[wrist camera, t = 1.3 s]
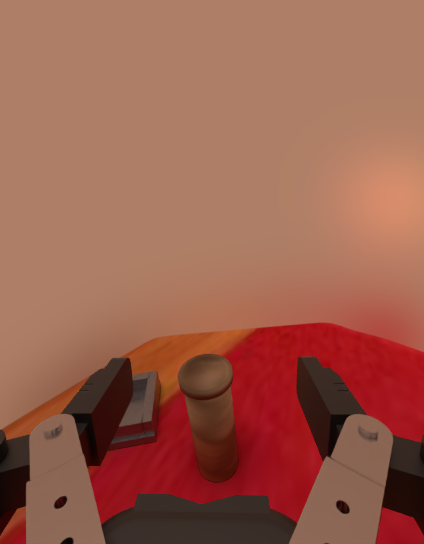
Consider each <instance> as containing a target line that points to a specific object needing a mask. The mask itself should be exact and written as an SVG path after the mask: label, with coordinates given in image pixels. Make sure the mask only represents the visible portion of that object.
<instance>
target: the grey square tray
mask: <svg viewBox="0 0 424 544" xmlns="http://www.w3.org/2000/svg"><path fill="white" fill-rule="evenodd" d="M132 378H133V396H132V400H131V402H130V404H129V406H128V408H127V410H126V412H125V415H124V417H123V419H122V421H121V423H120V425H119V427H118V429H117V431H116V434H115V436H114V438H113V440H112V442H111V444H110V446H109V448H108V450H114V449H119V448H124V447H130V446H135V445H140V444H146V443H151V442H156V434H157V423H158V412H159V400H160V389H161V384H160V380H159V377H158V373H157V371H153V372H147V373H141V374H135V375H132ZM108 450H107V451H108Z"/></svg>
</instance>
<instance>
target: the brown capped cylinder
mask: <svg viewBox="0 0 424 544" xmlns="http://www.w3.org/2000/svg"><path fill="white" fill-rule="evenodd" d="M178 380H179V385H180V389H181V391H182V392H183V393H184V394H185V399H186V404H187V410H188V415H189V420H190V426H191V431H192V436H193V442H194V447H195V452H196V457H197V463H198V468H199V471H200V473H201V474H202V476H203V477H204V478H205V479H207V480H209V481H211V482H217V483H218V482H223V481H226V480H228V479H229V478H230V477H232V476H233V474H234V473H235V471H236V469H237V467H238V451H237V442H236V432H235V423H234V413H233V404H232V395H231V384H232V381H233V373H232V367H231V364H230V363H229V361H228V360H227V359H225V358H224V357H222V356H219V355H215V354H203V355H198V356H195V357H193V358H191V359H189V360H188V361H186V362H185V363H184V364H183V365H182V367H181V368H180V370H179V373H178Z"/></svg>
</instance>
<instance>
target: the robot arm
mask: <svg viewBox="0 0 424 544" xmlns="http://www.w3.org/2000/svg"><path fill="white" fill-rule="evenodd" d="M297 395H298V399H299V402H300V405H301V407H302V410H303V412H304V415H305V417H306V420H307V422H308V425H309V427H310V430H311V432H312V435H313V437H314V440H315V442H316V445H317V447H318V450H319V452H320V455H321V457H322V460H323V464H322V467H321V469H320V471H319V474H318V476H317V478H316V481H315V483H314V486H313V488H312V490H311V493H310V495H309V497H308V500H307V502H306V504H305V507H304V509H303V512H302V514H301V516H300V519H299V521H298V523H296V522H295V521H293V520H292V519H291V518H289V517H287V516H286V515H284V514H282V513H280V512H278V511H275V510H272V509H270V506H269V500H268V496H253V495H235V496H231V497H227V498H224V499H220V500H216V501H213V502H209V503H205V504H198V503H195V502H192V501H189V500H186V499H183V498H180V497H176V496H173V495H170V494H138V496H137V499H136V503H135V506H134V507H132V508H129V509H127V510H124V511H122V512H120V513H118V514H116V515H114V516H113V517H111V518H110V519H108V520H107V521H105V522H104V523H103V524H102V525H101V523H100V519H99V514H98V510H97V506H96V502H95V498H94V494H93V490H92V486H91V482H90V478H89V474H88V470H87V468H88V466H100V465H101V463H102V461H103V459H104V457H105V455H106V452H107V450H108V448H109V446H110V444H111V442H112V440H113V438H114V436H115V434H116V431H117V429H118V427H119V425H120V423H121V421H122V419H123V417H124V415H125V412H126V410H127V408H128V406H129V404H130V402H131V400H132V396H133V378H132V370H131V362H130V359H129V358H113V359H111V360H110V362H109V363H108V365H107V366H106V367H105V369H100V370H98V371H97V372H95V373H94V374H93V375H91V376H90V377H89V379H88V380H87V381H86V382H85V385H83V386H82V388H81V389H80V390H79V392H78V393H77V394H76V395H75V396H74V398H73V399H72V400H71V402H70V403H69V404H68V405H67V407H66V408H65V409H64V410H63V412H62V413H61V414H59V415H55V416H52V417H50V418H48V419H46V420H44V421H42V422H41V423H40V424H38V425H37V426H36V427H35V428H34V429H33V431H32V432H31V434H30V435H26V436H22V437H18V438H14V439H10V440H6V436H5V433H4V431H2V430H0V535H1V534H2V532H3V530H4V529H5V527H6V526H7V524H8V522H9V521H10V519H11V518H12V516H13V515H14V513H15V511H16V510H17V509H18V508H21V507H24V506H26V544H377V538H378V532H379V526H380V520H381V514H382V508H383V507H384V508H387V509H390V510H393V511H396V512H399V513H402V514H405V515H408V516H411V517H414V519H415V521H416V522H417V524H418V526H419V528H420V529H421V531H422V533H423V535H424V435H423V437H422V442H421V443H420V442H416V441H412V440H408V439H404V438H400V437H397V436H394V435H392V433H391V432H390V430H389V429H388V428H387V427H386V426H385V425H384V424H383V423H381V422H380V421H378V420H377V419H375V418H372V417H370V416H367V414H366V413H365V412H364V410H363V409H362V407H361V406H360V404H359V403H358V402H357V400H356V399H355V397H354V396H353V394H352V393H351V392H350V391H349V389H348V387H347V386H346V385H345V383H344V382H343V380H342V379H341V377H340V376H339V375H338V374H337V373H336V372H334V371H333V370H331V369H330V368H323V367H322V365H321V364H320V362H319V361H318V359H317V358H316V357H299V358H298V366H297Z"/></svg>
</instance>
